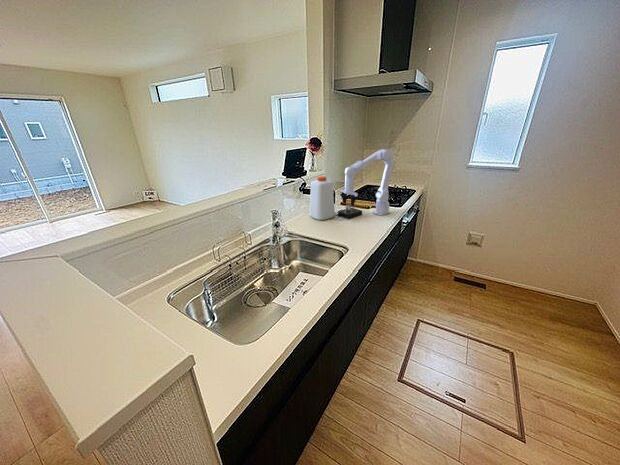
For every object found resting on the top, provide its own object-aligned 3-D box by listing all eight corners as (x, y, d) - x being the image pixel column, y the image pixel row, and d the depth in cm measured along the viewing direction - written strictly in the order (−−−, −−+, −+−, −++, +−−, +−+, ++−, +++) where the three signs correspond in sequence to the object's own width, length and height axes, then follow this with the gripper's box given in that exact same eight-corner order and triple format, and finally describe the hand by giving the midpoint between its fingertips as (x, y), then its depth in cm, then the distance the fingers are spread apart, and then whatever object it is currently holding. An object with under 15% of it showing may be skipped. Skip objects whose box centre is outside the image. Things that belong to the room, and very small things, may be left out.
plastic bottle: (337, 217, 177) (337, 177, 165) (319, 221, 169) (319, 180, 158) (324, 211, 188) (323, 174, 177) (307, 215, 180) (306, 176, 169)
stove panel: (351, 211, 187) (351, 207, 186) (361, 214, 180) (362, 210, 179) (337, 215, 180) (338, 211, 178) (348, 219, 172) (348, 214, 171)
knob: (344, 210, 179) (344, 205, 177) (348, 209, 181) (348, 203, 180) (348, 212, 176) (348, 206, 174) (352, 211, 178) (352, 205, 177)
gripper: (337, 184, 174) (337, 203, 180) (352, 188, 164) (352, 207, 169) (344, 182, 178) (344, 201, 184) (360, 186, 168) (359, 205, 173)
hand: (348, 204), depth 177 cm, fingers open, 7 cm apart
